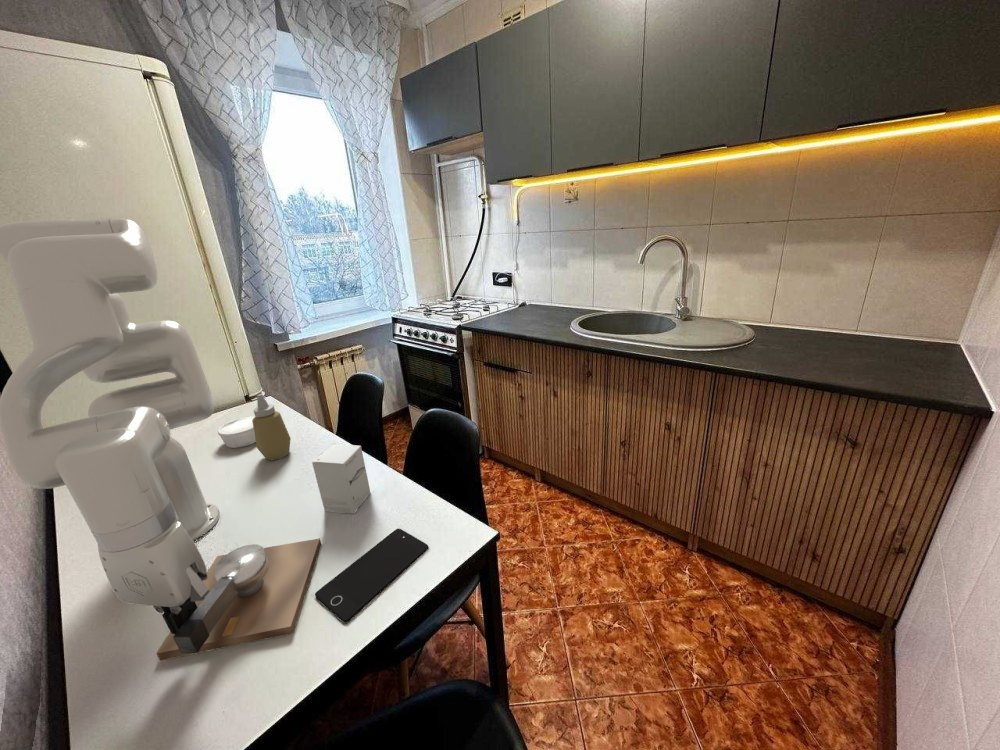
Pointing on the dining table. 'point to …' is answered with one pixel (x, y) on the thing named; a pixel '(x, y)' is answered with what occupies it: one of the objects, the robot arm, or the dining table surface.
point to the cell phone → (370, 574)
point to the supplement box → (341, 478)
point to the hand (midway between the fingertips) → (186, 624)
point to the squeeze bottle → (270, 431)
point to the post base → (260, 600)
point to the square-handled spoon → (222, 594)
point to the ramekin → (238, 432)
